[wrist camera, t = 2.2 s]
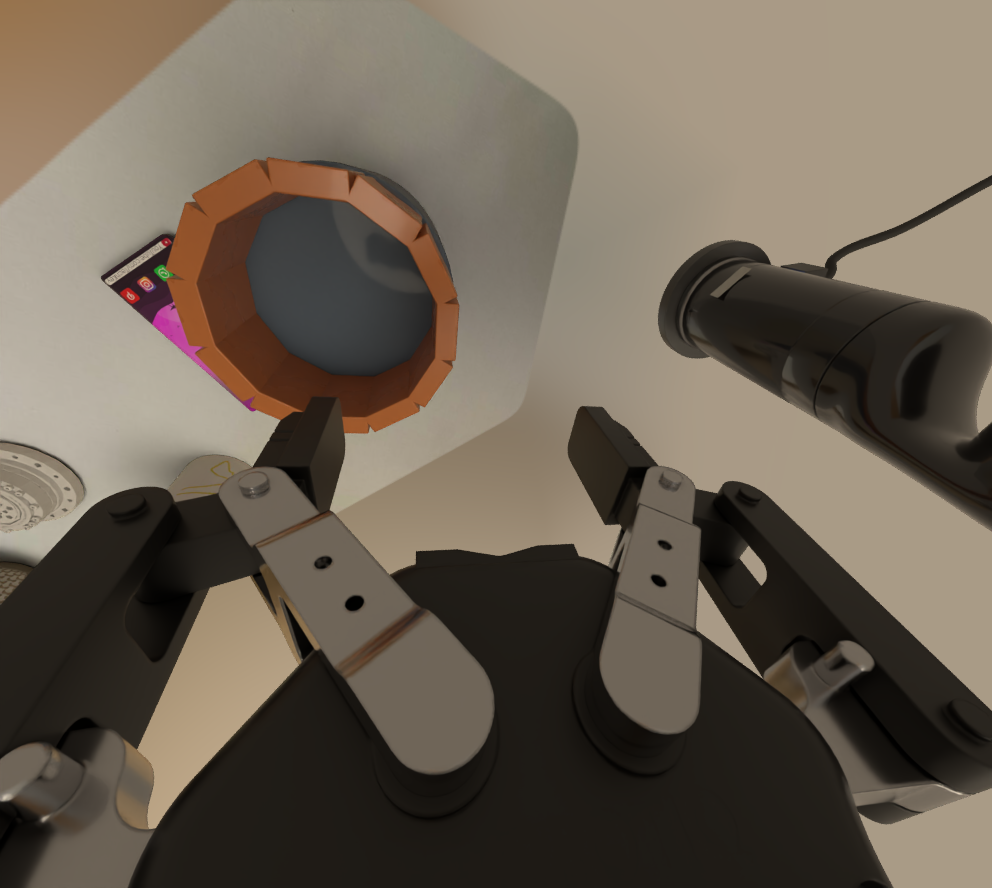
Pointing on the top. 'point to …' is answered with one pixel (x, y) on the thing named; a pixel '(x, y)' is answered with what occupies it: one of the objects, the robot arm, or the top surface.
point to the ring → (246, 338)
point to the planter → (11, 577)
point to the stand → (340, 283)
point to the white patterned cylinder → (205, 476)
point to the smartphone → (155, 295)
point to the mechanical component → (34, 488)
